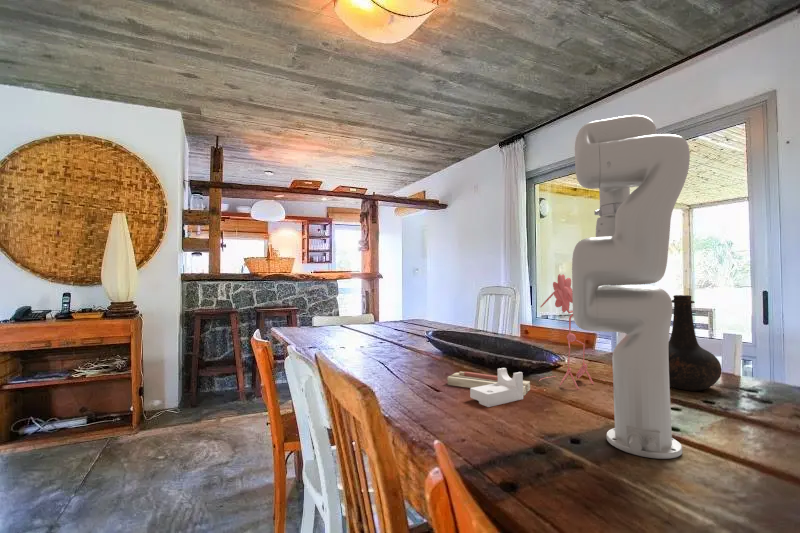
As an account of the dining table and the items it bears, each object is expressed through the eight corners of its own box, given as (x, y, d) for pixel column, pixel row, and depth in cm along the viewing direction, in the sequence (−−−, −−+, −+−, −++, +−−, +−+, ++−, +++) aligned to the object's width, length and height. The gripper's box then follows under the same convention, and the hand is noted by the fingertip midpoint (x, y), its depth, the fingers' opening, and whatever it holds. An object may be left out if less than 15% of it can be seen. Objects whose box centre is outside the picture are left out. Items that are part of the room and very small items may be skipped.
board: (524, 395, 109) (524, 386, 109) (447, 384, 121) (447, 376, 121) (530, 389, 115) (529, 381, 115) (456, 379, 127) (456, 372, 127)
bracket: (504, 393, 112) (503, 367, 112) (523, 400, 106) (522, 372, 106) (470, 401, 105) (469, 373, 106) (488, 408, 99) (487, 378, 100)
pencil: (501, 379, 117) (501, 376, 117) (499, 380, 116) (499, 377, 116) (460, 373, 125) (460, 370, 125) (458, 374, 124) (458, 371, 124)
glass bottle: (637, 379, 125) (633, 294, 126) (692, 379, 125) (689, 293, 126) (673, 395, 107) (669, 296, 109) (739, 395, 107) (734, 295, 108)
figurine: (608, 380, 124) (602, 273, 126) (566, 395, 108) (560, 273, 110) (564, 372, 136) (559, 275, 138) (520, 385, 121) (515, 275, 123)
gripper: (579, 213, 109) (581, 273, 108) (652, 206, 100) (655, 271, 99) (583, 217, 115) (585, 274, 114) (651, 211, 106) (654, 272, 105)
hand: (617, 272), depth 106 cm, fingers open, 9 cm apart
